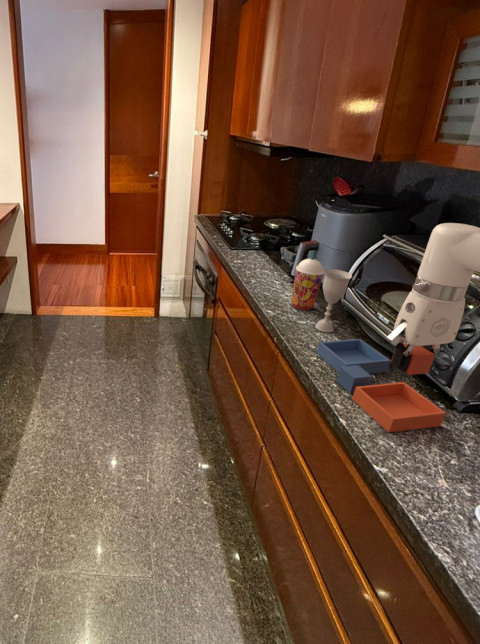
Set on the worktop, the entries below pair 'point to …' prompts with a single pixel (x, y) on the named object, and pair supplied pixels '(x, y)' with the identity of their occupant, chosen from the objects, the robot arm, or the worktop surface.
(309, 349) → the worktop surface
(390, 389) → the terracotta bin
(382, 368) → the blue bin
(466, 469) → the worktop surface
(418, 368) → the terracotta block
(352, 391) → the blue cubic block piece
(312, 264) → the smoothie
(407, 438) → the worktop surface
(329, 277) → the chalice
